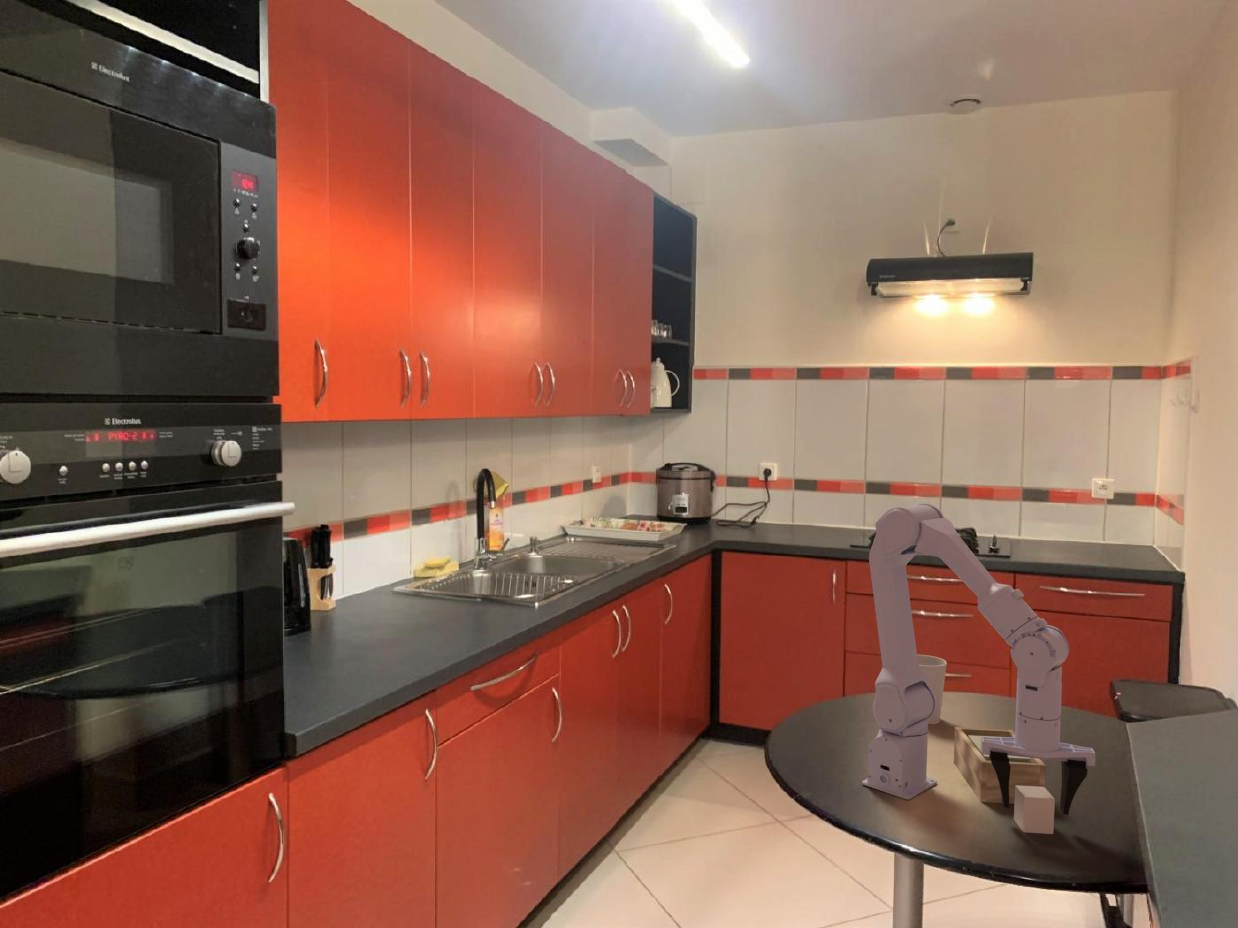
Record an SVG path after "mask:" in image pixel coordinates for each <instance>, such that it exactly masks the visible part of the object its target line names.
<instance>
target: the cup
mask: <svg viewBox="0 0 1238 928" xmlns="http://www.w3.org/2000/svg"><path fill="white" fill-rule="evenodd" d="M917 659H918V665H919V666H920V667H921V668H922V669H923V670H924V671H925V672H926V674H927V676H928V682H929V685H930V688H931V689H932V691H933V692H934V695H935V697H936V703H937V704H936V710H935V712H934V714H933V715H932V716H931V717H930V718H928V724H934V725H938V724H940V722H941V714H942V706H943V696H944V688H945V687H944V686H945V679H946V672H947V665H948V663H947V661H946V660H945V659H943V658H941V657H937V656H932V655H927V654H926V655H925V654H917ZM937 723H938V724H937Z"/></svg>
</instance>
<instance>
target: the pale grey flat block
mask: <svg viewBox="0 0 1238 928" xmlns="http://www.w3.org/2000/svg"><path fill="white" fill-rule="evenodd" d="M981 737H992V736H972V735H968V738H969V740H970V741H971V742H972V743H973V745H974V746H975V747H976V748H977V750H978V751H979V752H980V754H981V755H982V756H983V757H984V759H985V760H987V761H991V760H990V757H989V755H984V754H982V752H981ZM1008 758H1009V762H1025V763H1031V758H1028V757H1018V756H1009V755H1008Z"/></svg>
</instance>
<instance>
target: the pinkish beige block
mask: <svg viewBox="0 0 1238 928" xmlns="http://www.w3.org/2000/svg"><path fill="white" fill-rule="evenodd" d="M1055 803H1056V798H1055V797H1054V796H1053V795H1052V794H1051V793H1050V792H1049V790H1048V789H1047V788H1046V786H1045V787H1036V786H1018V785H1015V804H1014V807H1013V809H1014V810H1013V812H1014V813H1013V820H1014V821H1015V824H1016V825H1017V826H1018V827H1019V828H1020V830H1021V831H1022V832H1023V833H1031V834H1032V833H1033V834H1046V835H1047V834H1048V835H1054V830H1055V829H1054V828H1055V827H1054V826H1055V805H1056V804H1055Z"/></svg>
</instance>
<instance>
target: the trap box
mask: <svg viewBox="0 0 1238 928" xmlns="http://www.w3.org/2000/svg"><path fill="white" fill-rule="evenodd" d="M968 735H972V736H992V737H1015V730H1012V729H999V728H998V729H997V728H996V729H995V728H979V727H974V728H973V727H960V726H959V727H954V741H953V742H954V746H953V747H954V749H953V764H954V765H955V768H957V770H958V771H959V773H960V774H961V775H962V777H963V778H964V780H965V782H966V783H967V785H968V786H969V787H970V789H971V790H972V791H973V793H974V795H975V796H976V798H977V799H978V800H979V802H980V803H993V804H1002V797H1001V790H1000V785H999V781H998V777H997V774H996V772H995V769H994V767H993V765H992V762H991V761H987V760H985V759H984V757H983V756H982V755H981V754H980V752H979V751H978V750H977V748H976V747H975V746H974V745H973V743H972V742H971V741H970V740H969V738H968ZM1009 763H1010V766H1011V769H1010V778H1009V805H1010V804H1012V805H1013V804H1015V785H1018V786H1036V787H1045V788H1046V776H1047V775H1046V770H1047V765H1046V764H1045V763H1044V761H1042V759H1037V758H1031V763H1025V762H1009Z"/></svg>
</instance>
